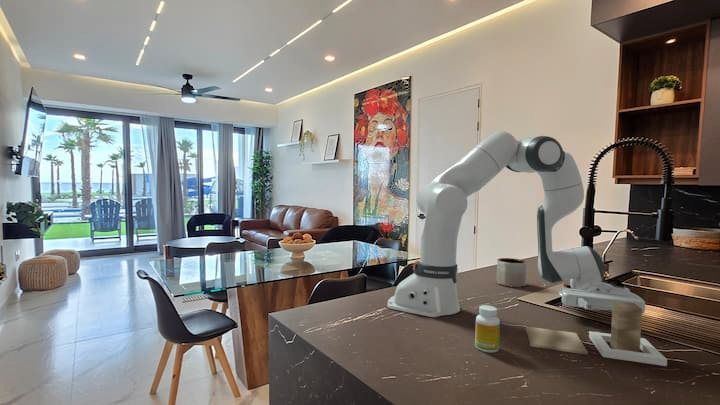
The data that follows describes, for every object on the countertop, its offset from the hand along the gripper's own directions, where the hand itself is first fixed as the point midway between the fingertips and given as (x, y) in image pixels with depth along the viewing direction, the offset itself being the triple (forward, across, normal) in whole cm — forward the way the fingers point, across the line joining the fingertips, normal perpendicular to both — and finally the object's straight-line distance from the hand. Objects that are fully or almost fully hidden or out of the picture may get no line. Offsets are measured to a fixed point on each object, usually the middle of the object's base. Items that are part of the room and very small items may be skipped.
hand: (608, 309), depth 99 cm
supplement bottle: (+24, -31, +6) cm, 40 cm away
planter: (-42, -22, +6) cm, 48 cm away
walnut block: (+13, 0, +6) cm, 14 cm away
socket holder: (+13, 0, +6) cm, 14 cm away
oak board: (+13, -15, +6) cm, 21 cm away
